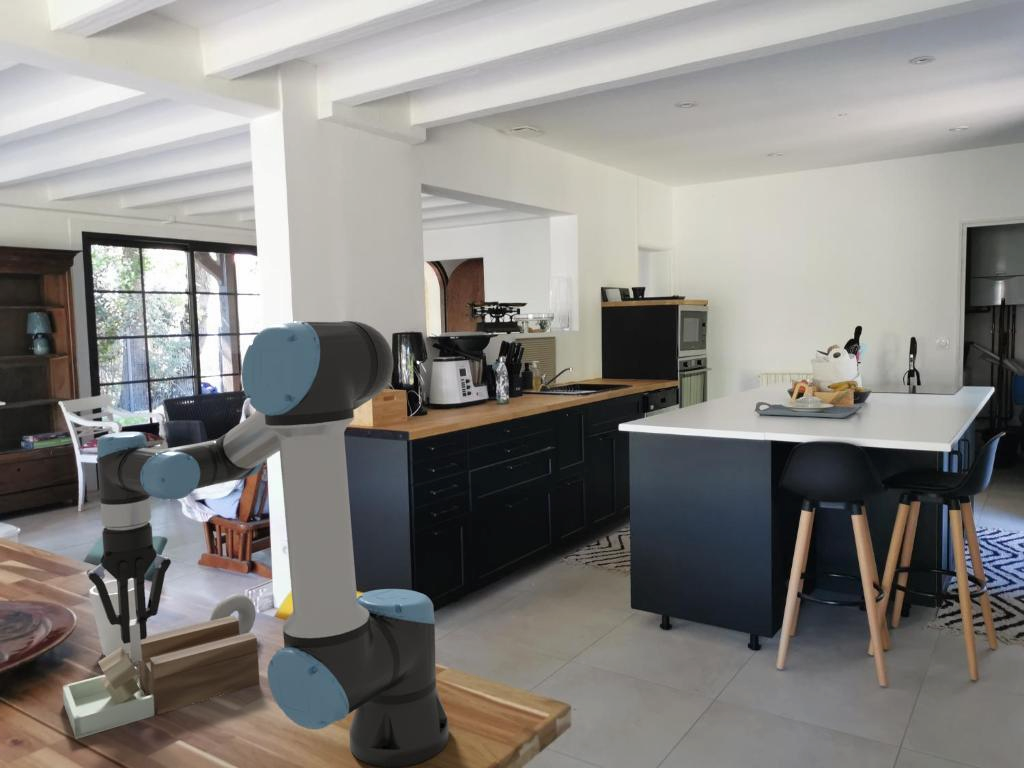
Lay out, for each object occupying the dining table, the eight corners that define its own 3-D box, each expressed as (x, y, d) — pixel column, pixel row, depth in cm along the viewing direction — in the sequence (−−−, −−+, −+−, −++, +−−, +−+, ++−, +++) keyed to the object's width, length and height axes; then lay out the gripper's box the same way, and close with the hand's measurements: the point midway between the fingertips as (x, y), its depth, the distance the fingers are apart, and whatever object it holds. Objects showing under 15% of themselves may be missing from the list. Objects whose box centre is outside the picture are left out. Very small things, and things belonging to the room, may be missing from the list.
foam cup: (156, 640, 158) (152, 578, 157) (129, 660, 149) (125, 595, 148) (112, 639, 159) (108, 578, 158) (83, 659, 150) (78, 594, 149)
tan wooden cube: (129, 671, 132) (105, 688, 129) (140, 689, 133) (117, 705, 131) (122, 664, 135) (100, 679, 132) (134, 681, 136) (111, 697, 134)
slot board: (259, 684, 139) (257, 638, 138) (157, 714, 129) (154, 665, 128) (235, 657, 150) (233, 614, 149) (139, 683, 140) (137, 637, 139)
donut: (218, 653, 152) (215, 604, 151) (207, 649, 154) (204, 601, 153) (260, 635, 160) (258, 588, 159) (249, 632, 162) (247, 585, 161)
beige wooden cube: (138, 673, 130) (127, 656, 129) (114, 689, 128) (102, 671, 127) (132, 664, 133) (121, 646, 132) (109, 679, 131) (98, 661, 130)
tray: (154, 715, 128) (153, 696, 128) (75, 739, 122) (74, 719, 121) (136, 684, 140) (135, 666, 139) (63, 704, 133) (62, 685, 133)
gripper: (163, 513, 138) (170, 641, 140) (80, 526, 130) (89, 661, 132) (173, 522, 131) (181, 656, 134) (86, 536, 124) (96, 677, 126)
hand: (135, 658), depth 133 cm, fingers closed
